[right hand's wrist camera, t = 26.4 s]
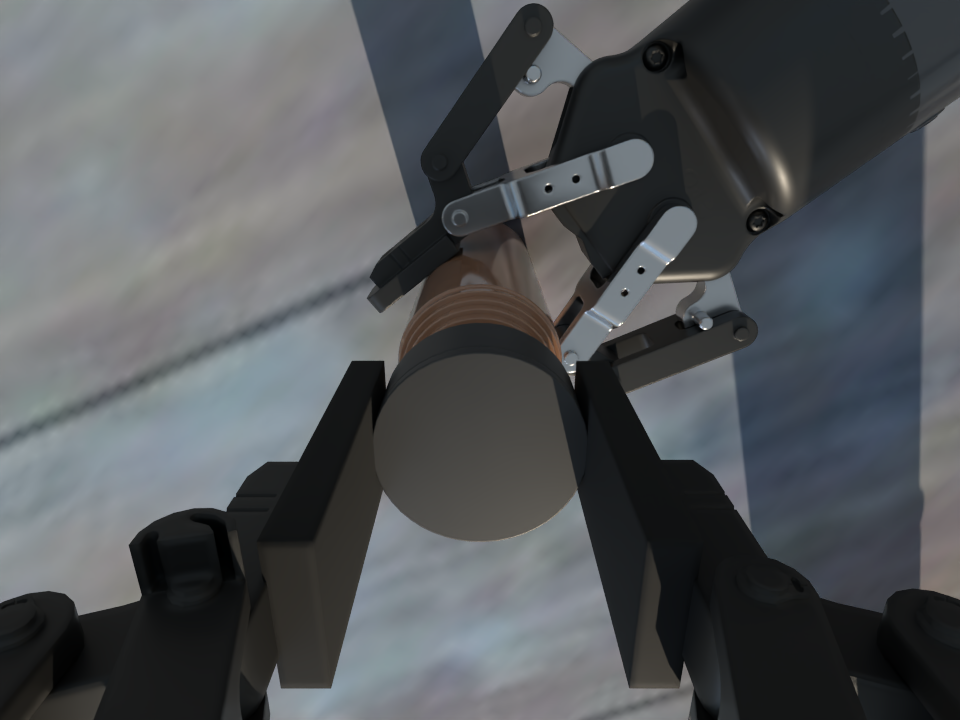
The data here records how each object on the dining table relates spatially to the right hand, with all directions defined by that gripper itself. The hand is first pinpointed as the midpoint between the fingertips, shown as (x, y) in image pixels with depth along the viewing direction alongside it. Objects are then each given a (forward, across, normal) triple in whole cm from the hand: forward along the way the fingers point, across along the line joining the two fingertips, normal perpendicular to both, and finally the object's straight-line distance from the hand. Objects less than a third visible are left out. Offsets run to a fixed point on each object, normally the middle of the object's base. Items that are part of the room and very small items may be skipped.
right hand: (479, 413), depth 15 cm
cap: (-2, 0, 0) cm, 2 cm away
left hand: (+8, -2, -2) cm, 9 cm away
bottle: (+15, 0, 0) cm, 15 cm away
